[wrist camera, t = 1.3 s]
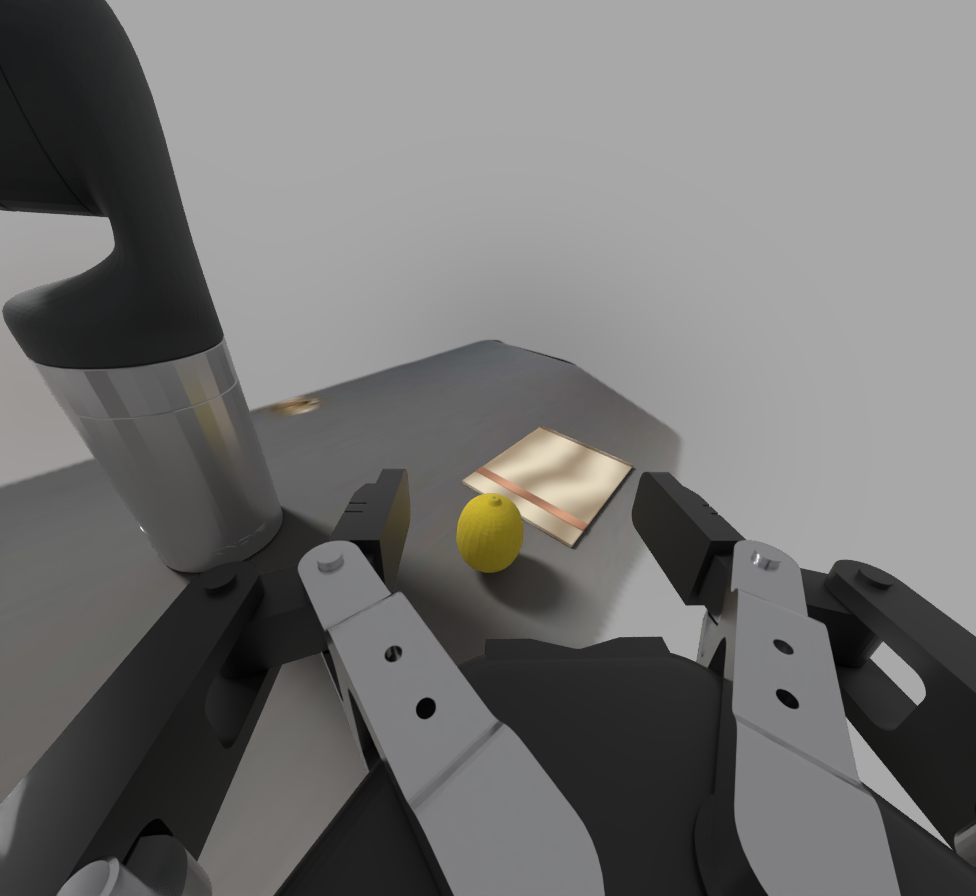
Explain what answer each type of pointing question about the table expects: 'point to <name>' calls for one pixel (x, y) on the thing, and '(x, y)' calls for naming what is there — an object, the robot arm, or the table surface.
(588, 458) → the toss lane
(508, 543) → the lemon
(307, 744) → the table surface
